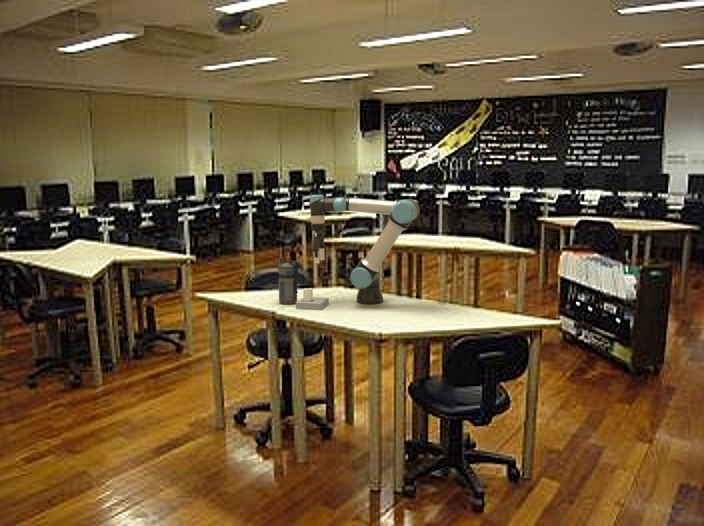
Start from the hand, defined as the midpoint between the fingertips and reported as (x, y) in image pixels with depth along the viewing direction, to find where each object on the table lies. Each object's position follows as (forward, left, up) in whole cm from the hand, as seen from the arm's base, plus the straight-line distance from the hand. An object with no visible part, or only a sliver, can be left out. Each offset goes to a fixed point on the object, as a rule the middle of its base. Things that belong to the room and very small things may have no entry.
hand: (319, 261), depth 343 cm
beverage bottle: (+18, +2, -24) cm, 30 cm away
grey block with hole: (+2, +7, -24) cm, 25 cm away
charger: (+4, +9, -24) cm, 26 cm away
